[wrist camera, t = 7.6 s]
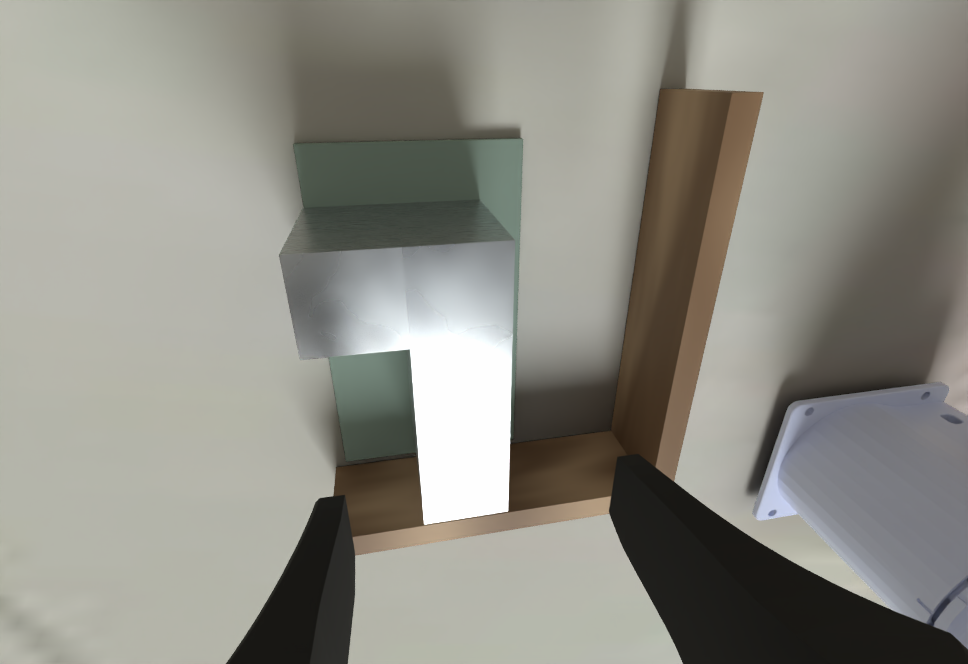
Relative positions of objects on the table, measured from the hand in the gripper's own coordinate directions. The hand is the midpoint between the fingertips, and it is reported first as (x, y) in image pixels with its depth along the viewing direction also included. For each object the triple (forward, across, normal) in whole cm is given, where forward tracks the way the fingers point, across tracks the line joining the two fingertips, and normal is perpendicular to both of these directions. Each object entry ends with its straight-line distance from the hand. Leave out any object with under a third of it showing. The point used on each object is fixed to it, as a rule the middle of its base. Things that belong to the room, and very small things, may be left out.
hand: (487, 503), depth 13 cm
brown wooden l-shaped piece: (+8, -2, -2) cm, 9 cm away
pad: (+8, 0, -2) cm, 9 cm away
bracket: (+8, 0, -1) cm, 8 cm away
